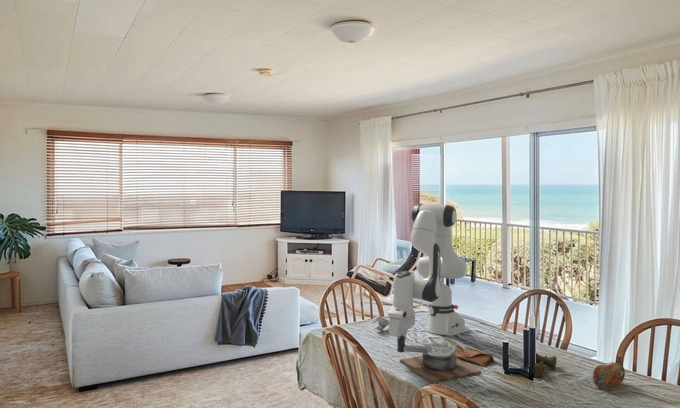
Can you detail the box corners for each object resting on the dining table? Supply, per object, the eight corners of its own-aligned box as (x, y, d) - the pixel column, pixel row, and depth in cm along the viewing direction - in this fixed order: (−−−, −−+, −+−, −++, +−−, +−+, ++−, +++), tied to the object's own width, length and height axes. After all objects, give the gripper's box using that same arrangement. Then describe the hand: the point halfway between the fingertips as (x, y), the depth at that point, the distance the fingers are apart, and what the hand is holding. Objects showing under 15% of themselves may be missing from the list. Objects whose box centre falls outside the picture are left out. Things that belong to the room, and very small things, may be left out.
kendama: (523, 376, 192) (534, 359, 209) (548, 382, 187) (558, 365, 203) (524, 362, 192) (535, 346, 208) (549, 368, 186) (559, 351, 203)
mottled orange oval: (598, 390, 178) (598, 368, 177) (590, 387, 181) (591, 365, 180) (625, 383, 184) (626, 362, 183) (617, 380, 187) (618, 359, 186)
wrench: (411, 327, 263) (374, 332, 243) (409, 326, 265) (371, 331, 245) (412, 313, 264) (375, 316, 244) (410, 312, 265) (372, 316, 245)
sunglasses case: (447, 357, 211) (451, 342, 213) (453, 361, 216) (457, 346, 218) (485, 367, 199) (489, 352, 201) (491, 371, 204) (495, 356, 206)
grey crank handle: (451, 351, 204) (452, 335, 203) (453, 360, 193) (453, 344, 193) (397, 348, 208) (398, 332, 207) (396, 357, 197) (396, 341, 196)
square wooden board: (445, 353, 215) (445, 342, 215) (481, 373, 194) (481, 361, 193) (399, 361, 205) (399, 350, 205) (432, 383, 184) (432, 370, 183)
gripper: (405, 302, 215) (405, 332, 216) (386, 313, 197) (386, 346, 198) (418, 304, 212) (418, 335, 212) (400, 316, 194) (400, 349, 195)
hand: (402, 340), depth 205 cm, fingers closed
